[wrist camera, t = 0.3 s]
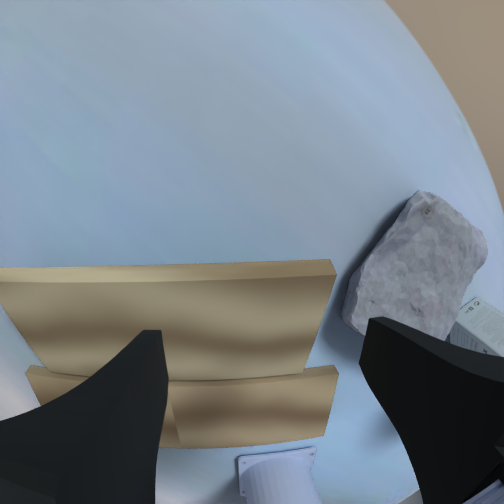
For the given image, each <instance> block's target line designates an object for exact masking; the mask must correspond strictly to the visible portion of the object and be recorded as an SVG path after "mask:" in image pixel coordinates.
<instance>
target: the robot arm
mask: <svg viewBox="0 0 504 504" xmlns="http://www.w3.org/2000/svg"><path fill="white" fill-rule="evenodd" d="M359 365H360V367H361V370H362V372H363V375H364V377H365V379H366V381H367V383H368V385H369V387H370V389H371V390H372V392H373V393H374V395H375V397H376V398H377V400H378V401H379V403H380V405H381V406H382V408H383V409H384V411H385V412H386V414H387V416H388V417H389V419H390V420H391V422H392V423H393V425H394V427H395V428H396V430H397V432H398V434H399V436H400V438H401V440H402V442H403V445H404V447H405V449H406V451H407V454H408V456H409V459H410V461H411V464H412V467H413V469H414V472H415V475H416V478H417V481H418V485H419V488H420V491H421V495H422V499H423V504H504V357H501V356H495V355H489V354H485V353H480V352H477V351H473V350H469V349H466V348H463V347H459V346H456V345H454V344H451V343H448V342H446V341H443V340H440V339H438V338H435V337H433V336H431V335H428V334H426V333H424V332H421V331H419V330H417V329H414V328H412V327H410V326H407V325H405V324H403V323H400V322H398V321H395V320H393V319H390V318H387V317H383V316H382V317H374V318H369V320H368V325H367V330H366V335H365V339H364V344H363V348H362V353H361V357H360V361H359ZM168 383H169V376H168V371H167V365H166V358H165V352H164V346H163V339H162V332H161V330H143V331H141V332H140V333H139V334H138V335H137V336H136V337H135V338H134V339H133V340H132V341H131V342H130V343H129V344H128V345H127V346H126V347H124V348H123V349H122V350H121V351H120V352H119V353H118V354H117V355H116V356H115V357H114V358H112V359H111V360H110V361H109V362H108V363H107V364H105V365H104V366H103V367H102V368H100V369H99V370H98V371H97V372H96V373H94V374H93V375H92V376H91V377H89V378H88V379H86V380H85V381H84V382H82V383H81V384H79V385H78V386H76V387H75V388H73V389H71V390H70V391H68V392H67V393H65V394H63V395H61V396H59V397H58V398H56V399H54V400H52V401H50V402H48V403H46V404H44V405H42V406H40V407H38V408H35V409H33V410H31V411H28V412H26V413H23V414H20V415H18V416H15V417H12V418H9V419H5V420H2V421H0V504H155V478H156V462H157V454H158V448H159V443H160V437H161V432H162V427H163V422H164V417H165V411H166V406H167V398H168ZM316 451H317V450H316V448H315V447H309V448H303V449H297V450H290V451H283V452H276V453H267V454H258V455H246V456H240V457H239V458H238V471H239V489H240V496H243V497H245V496H246V502H247V504H322V503H321V500H320V497H319V494H318V491H317V488H316V485H315V482H314V479H313V476H312V474H311V469H312V465H313V462H314V458H315V455H316Z"/></svg>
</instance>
